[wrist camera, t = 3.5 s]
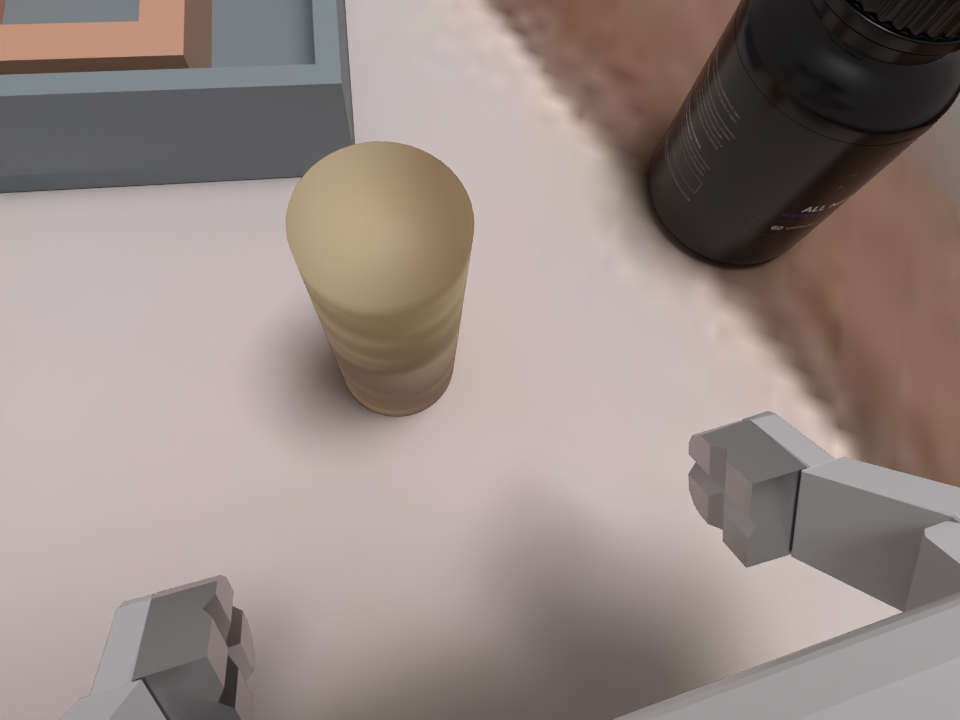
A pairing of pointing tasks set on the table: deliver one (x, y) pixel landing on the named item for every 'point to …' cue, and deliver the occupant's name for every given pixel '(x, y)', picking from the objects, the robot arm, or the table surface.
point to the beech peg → (385, 268)
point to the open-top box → (169, 91)
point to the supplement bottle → (800, 118)
